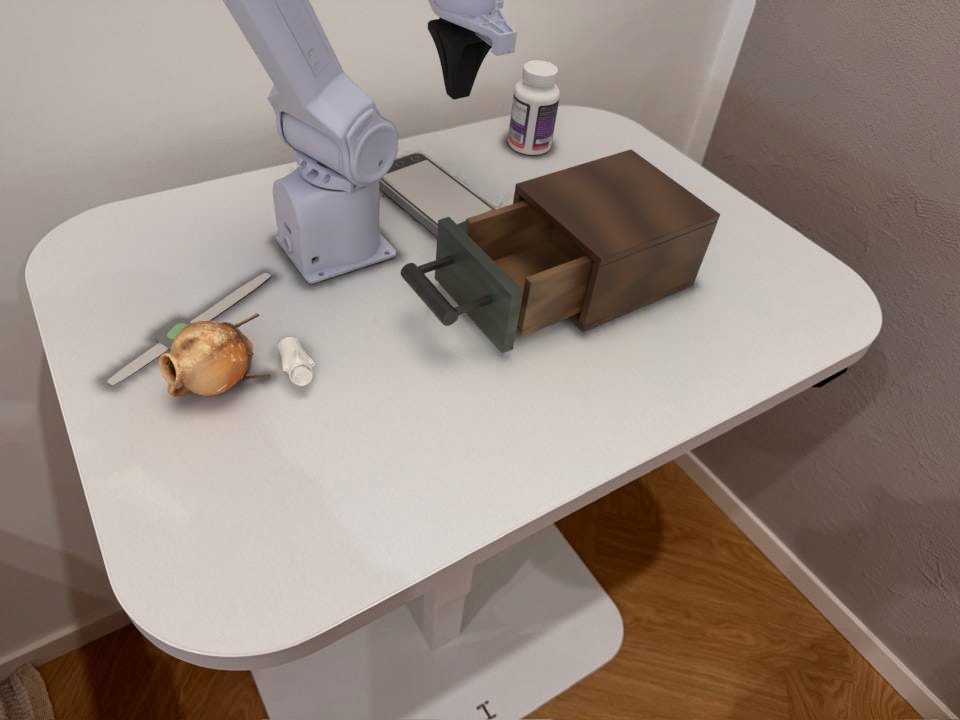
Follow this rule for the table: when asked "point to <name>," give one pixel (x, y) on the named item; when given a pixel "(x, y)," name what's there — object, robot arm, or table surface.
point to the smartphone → (431, 192)
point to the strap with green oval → (172, 329)
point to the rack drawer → (504, 273)
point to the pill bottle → (534, 108)
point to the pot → (208, 358)
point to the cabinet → (625, 230)
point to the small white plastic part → (295, 361)
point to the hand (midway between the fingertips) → (458, 95)
